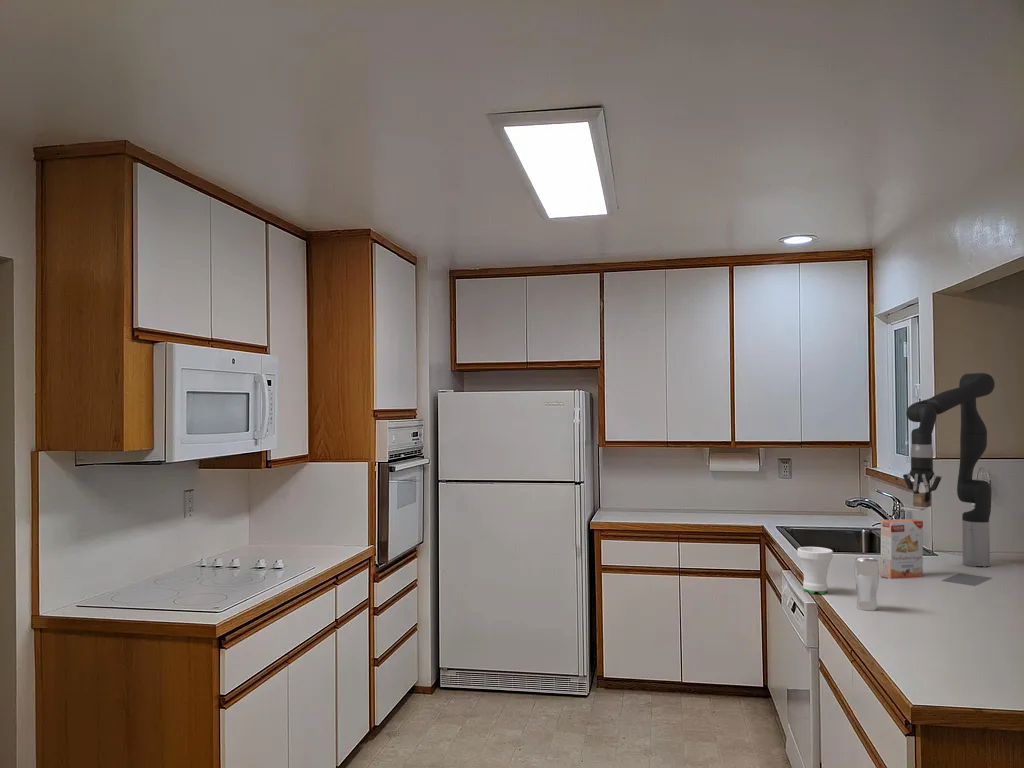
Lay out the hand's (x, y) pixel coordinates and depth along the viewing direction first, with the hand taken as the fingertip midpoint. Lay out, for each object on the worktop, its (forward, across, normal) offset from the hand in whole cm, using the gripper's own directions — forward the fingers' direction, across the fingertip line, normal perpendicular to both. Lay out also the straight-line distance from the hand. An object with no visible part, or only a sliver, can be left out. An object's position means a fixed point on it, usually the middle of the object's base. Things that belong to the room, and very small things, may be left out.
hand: (922, 501), depth 308 cm
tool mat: (+26, -18, +9) cm, 33 cm away
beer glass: (+26, -10, +74) cm, 79 cm away
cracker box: (+26, 0, +20) cm, 33 cm away
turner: (+2, 0, +4) cm, 5 cm away
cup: (+26, +11, +65) cm, 71 cm away
